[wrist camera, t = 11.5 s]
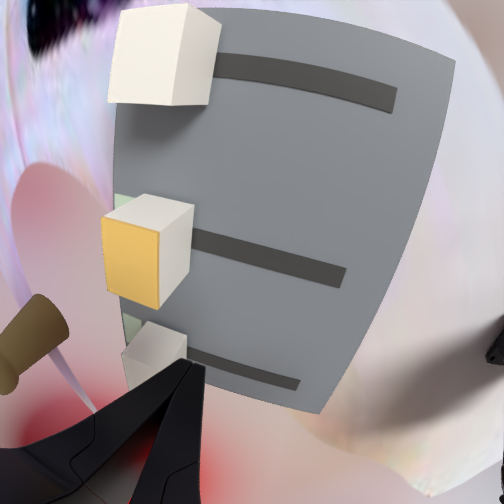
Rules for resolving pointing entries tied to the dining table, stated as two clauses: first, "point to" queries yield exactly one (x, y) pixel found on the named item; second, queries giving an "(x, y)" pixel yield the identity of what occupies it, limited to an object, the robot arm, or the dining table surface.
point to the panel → (287, 195)
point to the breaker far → (152, 352)
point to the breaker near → (164, 56)
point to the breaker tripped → (147, 248)
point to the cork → (29, 339)
